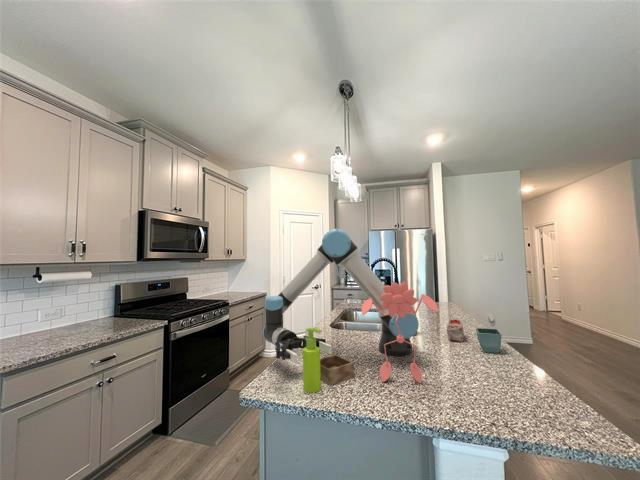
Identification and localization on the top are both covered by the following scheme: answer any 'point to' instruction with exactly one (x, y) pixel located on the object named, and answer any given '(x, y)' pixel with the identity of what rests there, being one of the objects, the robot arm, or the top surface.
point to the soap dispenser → (311, 363)
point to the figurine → (400, 303)
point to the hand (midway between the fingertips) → (314, 354)
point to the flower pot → (489, 339)
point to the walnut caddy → (335, 369)
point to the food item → (455, 331)
